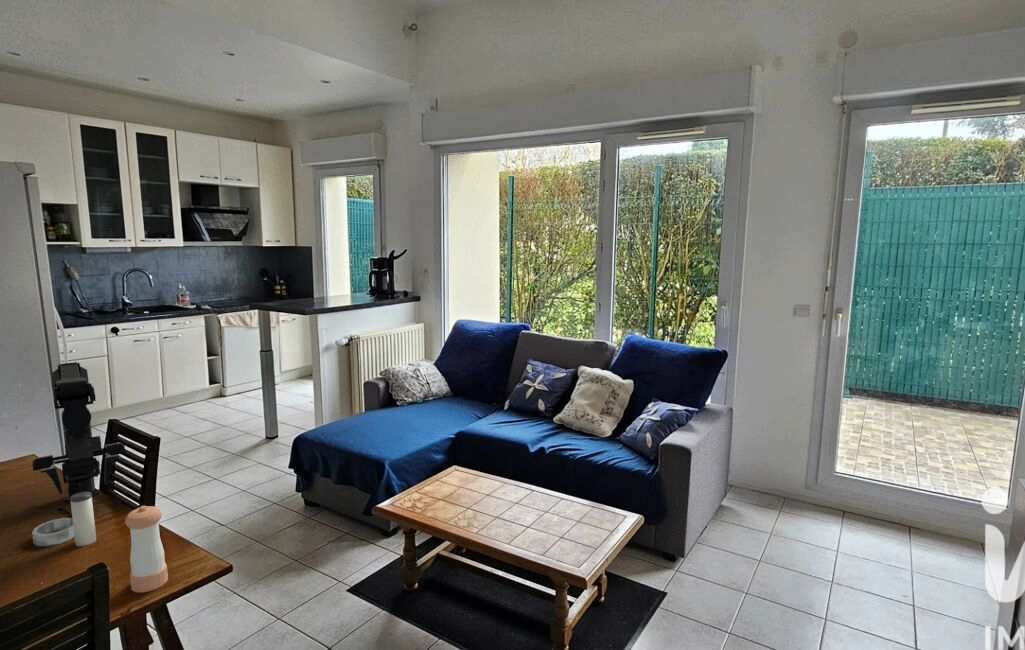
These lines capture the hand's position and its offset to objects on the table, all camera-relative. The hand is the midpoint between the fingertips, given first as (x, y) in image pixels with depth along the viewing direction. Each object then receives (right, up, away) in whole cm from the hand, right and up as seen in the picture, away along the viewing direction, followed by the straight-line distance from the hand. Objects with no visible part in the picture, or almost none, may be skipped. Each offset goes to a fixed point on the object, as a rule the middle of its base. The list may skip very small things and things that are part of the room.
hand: (84, 489), depth 144 cm
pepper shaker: (+26, -18, -13) cm, 34 cm away
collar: (-12, -15, +6) cm, 20 cm away
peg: (-2, -15, +4) cm, 16 cm away
